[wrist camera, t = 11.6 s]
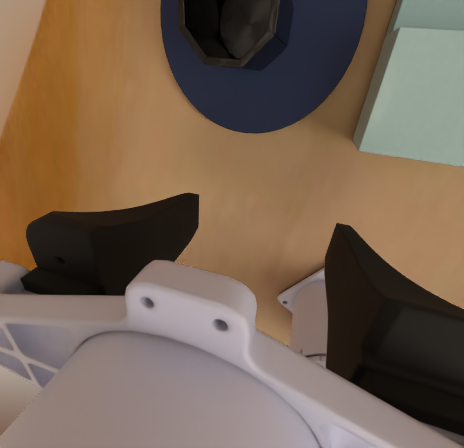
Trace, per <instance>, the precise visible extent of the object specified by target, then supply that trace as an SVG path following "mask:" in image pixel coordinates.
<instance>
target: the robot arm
mask: <svg viewBox="0 0 464 448" xmlns="http://www.w3.org/2000/svg"><path fill="white" fill-rule="evenodd" d="M198 224H199V195H198V194H193V193H184V194H180V195H177V196H173V197H170V198H167V199H164V200H161V201H157V202H154V203H150V204H147V205H143V206H138V207H134V208H128V209H122V210H113V211H103V212H58V211H53V212H50V213H48V214H46V215H44V216H42V217H40V218H38V219H36V220H34V221H32V222H31V223H30V224H29V225H28V227H27V229H26V238H27V242H28V245H29V247H30V250H31V252H32V255H33V257H34V260H35V262H36V265H37V266H38V267H36V268H35V269H33V270H32V271H29V270H28V269H27V268H25V267H23V266H21V265H17V264H14V263H11V262H8V261H3V260H2V261H0V366H2V367H3V368H5V369H7V370H9V371H11V372H13V373H14V374H16V375H18V376H20V377H21V378H23V379H25V380H26V381H28V382H30V383H32V384H33V385H35V386H37V387H39V388H40V389H42V390H41V391H40V392H39V393H38V395H37V396H36V397H35V398H34V399H33V400H32V401H31V403H30V404H29V405H28V406H27V407H26V408H25V409H24V411H23V412H22V413H21V414H20V415H19V416H18V417H17V418H16V419H15V421H14V422H13V423H12V424H11V425H10V426H9V427H8V429H7V430H6V431H5V432H4V433H3V434H2V435H1V436H0V448H464V309H462V308H460V307H457V306H455V305H453V304H451V303H449V302H447V301H445V300H443V299H441V298H440V297H438V296H436V295H434V294H432V293H430V292H429V291H427V290H425V289H424V288H422V287H420V286H419V285H417V284H416V283H414V282H412V281H411V280H409V279H408V278H406V277H405V276H404V275H402V274H401V273H399V272H398V271H397V270H396V269H394V268H393V267H392V266H390V265H389V264H388V263H387V262H386V261H384V260H383V259H382V258H381V257H380V256H379V255H378V254H377V253H376V252H375V251H374V250H373V249H372V248H371V247H370V246H369V245H368V244H367V243H366V242H365V241H364V240H363V239H362V238H361V237H360V236H359V234H358V233H357V232H356V231H355V230H354V229H353V228H352V227H351V226H349V225H344V224H339V223H337V224H336V227H335V229H334V232H333V235H332V238H331V241H330V244H329V247H328V250H327V253H326V256H325V267H324V268H323V269H321V270H319V271H318V272H316V273H314V274H313V275H311V276H309V277H308V278H306V279H304V280H303V281H301V282H299V283H298V284H296V285H294V286H293V287H291V288H289V289H288V290H286V291H284V292H283V293H281V294H279V295H278V298H277V300H278V301H279V302H280V303H281V304H282V305H283V306H285V307H286V308H287V309H288V310H289V311H290V312H291V313H292V314H293V317H292V326H291V335H290V345H289V347H288V346H286V345H284V344H283V343H281V342H279V341H277V340H276V339H274V338H272V337H270V336H269V335H267V334H265V333H263V332H262V331H260V330H258V329H257V328H256V326H255V316H256V311H257V304H256V298H255V295H254V294H253V293H252V292H251V290H250V289H249V288H248V287H247V286H246V285H245V284H243V283H241V282H239V281H237V280H235V279H233V278H231V277H228V276H224V275H220V274H217V273H213V272H209V271H205V270H202V269H198V268H194V267H190V266H187V265H183V264H179V263H175V262H174V261H175V260H176V259H177V258H178V256H179V255H180V254H181V253H182V251H183V250H184V249H185V248H186V246H187V245H188V244H189V242H190V241H191V239H192V238H193V236H194V234H195V232H196V231H197V229H198ZM285 301H287V302H285Z"/></svg>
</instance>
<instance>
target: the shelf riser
mask: <svg viewBox="0 0 464 448" xmlns="http://www.w3.org/2000/svg"><path fill="white" fill-rule="evenodd" d="M386 35H387V36H386V37H385V40H384V43H383V46H382V49H381V52H380V55H379V58H378V62H377V65H376V68H375V71H374V74H373V77H372V80H371V84H370V87H369V90H368V93H367V96H366V99H365V102H364V106H363V109H362V112H361V115H360V118H359V121H358V124H357V128H356V131H355V134H354V137H353V142H354V144H355V146H356V147H357V149H358V151H360V152H367V153H373V154H380V155H387V156H393V157H400V158H407V159H413V160H420V161H427V162H434V163H440V164H447V165H454V166H460V167H464V0H397V2H396V5H395V8H394V11H393V14H392V18H391V21H390V24H389V27H388V30H387V33H386Z"/></svg>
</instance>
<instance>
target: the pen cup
mask: <svg viewBox="0 0 464 448" xmlns="http://www.w3.org/2000/svg"><path fill="white" fill-rule="evenodd" d="M222 6H223V7H222ZM293 10H294V5H293V2H292V0H177V13H178V28H179V31H180V32H181V33H182V35H183V36H184V38H185V39H186V40H187V42H188V43H189V45H190V46H191V47H192V49H193V50H194V52H195V53H196V54H197V56H198V57H199V59H200V60H201V61H202V63H203V64H205V65H210V66H219V67H229V68H238V69H249V70H259V71H262V70H264V69H265V68H266V67H267V66H268V65H269V64H270V63H271V62H272V61H273V60H274V59H275V58H276V57H277V56H278V55H280V54H281V53H282V52H283V51H284V50H285V49H286V48H287V46H288V41H289V35H290V28H291V22H292V16H293ZM221 38H222V40H221ZM222 41H223V42H222ZM233 57H234V58H235V59H234V58H233Z"/></svg>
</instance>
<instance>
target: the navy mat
mask: <svg viewBox="0 0 464 448" xmlns="http://www.w3.org/2000/svg"><path fill="white" fill-rule="evenodd" d="M292 2H293V5H294V10H293V16H292V22H291V28H290V35H289V41H288V46H287V48H286V49H285V50H284V51H283V52H282V53H281V54H280V55H278V56H277V57H276V58H275V59H274V60H273V61H272V62H271V63H270V64H269V65H268V66H267V67H266V68H265V69H264V70H262V71H259V70H249V69H238V68H229V67H219V66H210V65H205V64H203V63H202V61H201V60H200V59H199V57H198V56H197V54H196V53H195V52H194V50H193V49H192V47H191V46H190V45H189V43H188V42H187V40H186V39H185V38H184V36H183V35H182V33H181V32H180V31H179V28H178V13H177V0H161V29H162V37H163V43H164V48H165V52H166V56H167V59H168V62H169V65H170V68H171V70H172V73H173V75H174V77H175V79H176V81H177V83H178V85H179V87H180V88H181V90H182V92H183V93H184V94H185V96H186V97H187V98H188V100H189V101H190V102H191V103H192V104H193V106H194V107H195V108H196V109H197V110H198V111H199V112H201V113H202V114H203V115H204V116H205V117H207V118H208V119H210V120H211V121H213V122H214V123H216V124H218V125H220V126H222V127H225V128H227V129H230V130H234V131H238V132H244V133H264V132H271V131H275V130H279V129H281V128H284V127H287V126H289V125H291V124H293V123H295V122H297V121H299V120H301V119H302V118H304V117H305V116H306V115H308V114H309V113H311V112H312V111H313V110H314V109H316V108H317V107H318V106H319V105H320V104H321V103H322V102H323V101H324V100H325V99H326V98H327V97H328V95H329V94H330V93H331V92H332V91H333V90H334V88H335V87H336V85H337V84H338V83H339V81H340V80H341V78H342V77H343V75H344V73H345V71H346V70H347V68H348V66H349V64H350V62H351V60H352V58H353V55H354V53H355V51H356V48H357V46H358V43H359V40H360V36H361V33H362V29H363V26H364V20H365V15H366V9H367V0H292ZM222 7H223V6H222ZM221 40H222V38H221ZM222 42H223V41H222ZM233 58H234V57H233ZM234 59H235V58H234Z"/></svg>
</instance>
